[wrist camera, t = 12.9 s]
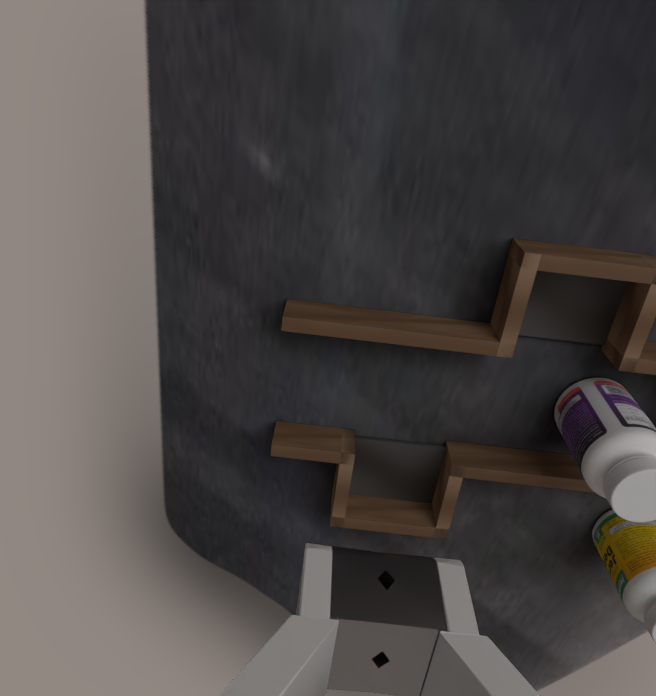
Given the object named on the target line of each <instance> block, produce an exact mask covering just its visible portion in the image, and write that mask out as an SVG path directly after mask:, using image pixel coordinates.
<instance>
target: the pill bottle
mask: <svg viewBox="0 0 656 696" xmlns="http://www.w3.org/2000/svg"><path fill="white" fill-rule="evenodd" d="M554 415H555V421H556V424H557V426H558V429H559V431H560V433H561V435H562V437H563V439H564V440H565V442H566V444H567V446H568V448H569V450H570V452H571V454H572V456H573V458H574V460H575V462H576V464H577V466H578V468H579V470H580V472H581V474H582V476H583V478H584V479H585V481H586V483H587V484H588V486H589V487H590V488H591V489H592V490H593V491H594V492H595V493H597V494H598V495H600V496H601V497H603V498H606V499H607V500H608V502H609V504H610V505H611V507H612V509H613V510H614V512H615V513H616V514H617V515H618V516H620V517H621V518H623V519H625V520H628V521H632V522H648V521H653V520H656V428H655V426H654V425H653V424H652V422H651V421H650V420H649V418H648V417H647V416H646V414H645V413H644V412H643V410H642V409H641V408H640V407H639V405H638V404H637V403H636V402H635V400H634V399H633V398H632V396H631V395H630V394H629V392H628V391H627V390H626V389H625V388H624V387H623V386H622V385H620V384H619V383H617V382H615V381H613V380H610V379H607V378H589V379H585V380H582V381H579V382H577V383H575V384H573V385H572V386H570V387H569V388H567V389H566V390H565V391H564V392H563V393H562V394H561V396H560V397H559V399H558V401H557V403H556V406H555V411H554Z"/></svg>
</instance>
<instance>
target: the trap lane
mask: <svg viewBox="0 0 656 696" xmlns="http://www.w3.org/2000/svg"><path fill="white" fill-rule="evenodd" d="M655 317H656V258H655V257H653V256H652V255H646V254H638V253H630V252H622V251H613V250H605V249H597V248H589V247H581V246H572V245H564V244H556V243H548V242H540V241H531V240H523V239H515V238H513V239H512V243H511V246H510V250H509V254H508V258H507V262H506V265H505V269H504V273H503V277H502V281H501V285H500V288H499V292H498V296H497V300H496V304H495V308H494V311H493V315H492V319H491V323H485V322H476V321H468V320H459V319H451V318H443V317H434V316H426V315H417V314H409V313H401V312H392V311H384V310H375V309H367V308H359V307H350V306H342V305H333V304H325V303H317V302H308V301H300V300H291V299H287V302H286V305H285V309H284V313H283V317H282V329H281V331H287V332H296V333H304V334H313V335H321V336H330V337H338V338H347V339H355V340H363V341H372V342H380V343H389V344H397V345H406V346H414V347H423V348H431V349H440V350H448V351H457V352H465V353H473V354H482V355H490V356H499V357H507V358H512V355H513V352H514V349H515V345H516V342H517V338H518V335H522V336H531V337H539V338H547V339H556V340H564V341H573V342H581V343H590V344H598V345H602V348H601V351H602V352H603V353H604V354H605V356H606V357H607V358H608V359H609V360H610V361H611V363H612V364H613V365H614V366H615V367H616V369H617V370H618V371H626V372H634V373H643V374H651V375H656V343H652V342H646V339H647V337H648V334H649V332H650V329H651V327H652V324H653V322H654V319H655ZM271 456H276V457H285V458H294V459H302V460H311V461H320V462H329V463H337V465H336V472H335V479H334V485H333V492H332V499H331V518H330V526H333V527H342V528H351V529H360V530H369V531H378V532H386V533H395V534H404V535H413V536H422V537H431V538H440V539H446V538H447V535H448V531H449V527H450V524H451V520H452V517H453V513H454V509H455V506H456V502H457V498H458V495H459V491H460V487H461V484H462V480H463V478H469V479H478V480H486V481H495V482H504V483H513V484H521V485H530V486H539V487H548V488H556V489H565V490H574V491H583V492H591V493H595V492H594V491H593V490H592V489H591V488H590V487H589V486H588V484H587V483H586V481H585V479H584V478H583V476H582V474H581V472H580V470H579V468H578V466H577V464H576V462H575V460H574V458H573V456H572V455H567V454H558V453H550V452H541V451H532V450H524V449H515V448H506V447H498V446H489V445H480V444H472V443H463V442H454V441H446V444H445V446H441V445H433V444H424V443H415V442H407V441H398V440H389V439H381V438H372V437H363V436H355V430H350V429H342V428H333V427H324V426H316V425H307V424H298V423H290V422H281V421H276V426H275V430H274V435H273V440H272V446H271Z"/></svg>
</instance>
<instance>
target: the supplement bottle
mask: <svg viewBox="0 0 656 696" xmlns="http://www.w3.org/2000/svg"><path fill="white" fill-rule="evenodd" d="M592 537H593V541H594V544H595V546H596V548H597V550H598V552H599V554H600V556H601V558H602V560H603V562H604V564H605V566H606V568H607V570H608V572H609V574H610V576H611V578H612V580H613V582H614V584H615V586H616V588H617V591H618V593H619V595H620V597H621V599H622V601H623V603H624V605H625V607H626V608H627V610H628V611H629V612H630V614H631V615H633V616H634V617H635V618H636V619H638V620H640V621H642V622H644V623H645V626H646V628H647V629H648V631H649V633H650V635H651V637H652V638H653V640H654V641H655V642H656V520H653V521H648V522H632V521H628V520H625V519H623V518H621V517H620V516H618V515H617V514H616V513H615V512H614V510H613V509H611V510H609V511H608V512H606V513H605V514H603V515H602V516H601V517H600V518H599V519H598V520H597V522H596V524H595V526H594V528H593V531H592Z"/></svg>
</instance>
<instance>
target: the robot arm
mask: <svg viewBox="0 0 656 696" xmlns="http://www.w3.org/2000/svg"><path fill="white" fill-rule="evenodd" d="M327 689H334V690H335V689H336V690H348V691H361V692H374V693H381V694H388V695H395V696H540V695H539V694H538V693H537V692H536V691H535V689H534V688H533V687H532V686H531V685H530V684H529V683H528V682H527V680H526V679H525V678H524V677H523V676H522V675H521V674H520V673H519V671H518V670H517V669H516V668H515V667H514V666H513V665H512V664H511V662H510V661H509V660H508V659H507V658H506V657H505V656H504V655H503V653H502V652H501V651H500V650H499V649H498V648H497V647H496V646H495V644H494V643H493V642H492V641H491V640H490V639H489V638H488V637H487V636H481V635H479V632H478V627H477V623H476V618H475V614H474V610H473V605H472V601H471V596H470V592H469V587H468V583H467V578H466V574H465V570H464V565H463V563H462V562H461V561H460V560H453V559H443V558H432V557H423V556H413V555H403V554H393V553H383V552H382V553H380V552H372V551H365V550H358V549H350V548H343V547H336V546H333V547H332V546H324V545H317V544H310V543H306V546H305V552H304V559H303V567H302V574H301V581H300V589H299V597H298V605H297V613H296V615H290V617H289V618H288V619H287V620H286V621H285V622H284V623H283V625H282V626H281V627H280V628H279V629H278V630H277V631H276V632H275V634H274V635H273V636H272V637H271V638H270V639H269V640H268V641H267V642H266V643H265V645H264V646H263V647H262V648H261V649H260V650H259V652H257V654H256V655H255V656H254V657H253V658H252V659H251V660H250V661H249V663H248V664H247V665H246V666H245V667H244V668H243V669H242V670H241V672H240V673H239V674H238V675H237V676H236V677H235V678H234V679H233V681H232V682H231V683H230V684H229V685H228V686H227V687H226V688H225V689H224V691H223V692H222V693H221V694H220V695H219V696H324V695H325V693H326V691H327Z"/></svg>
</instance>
